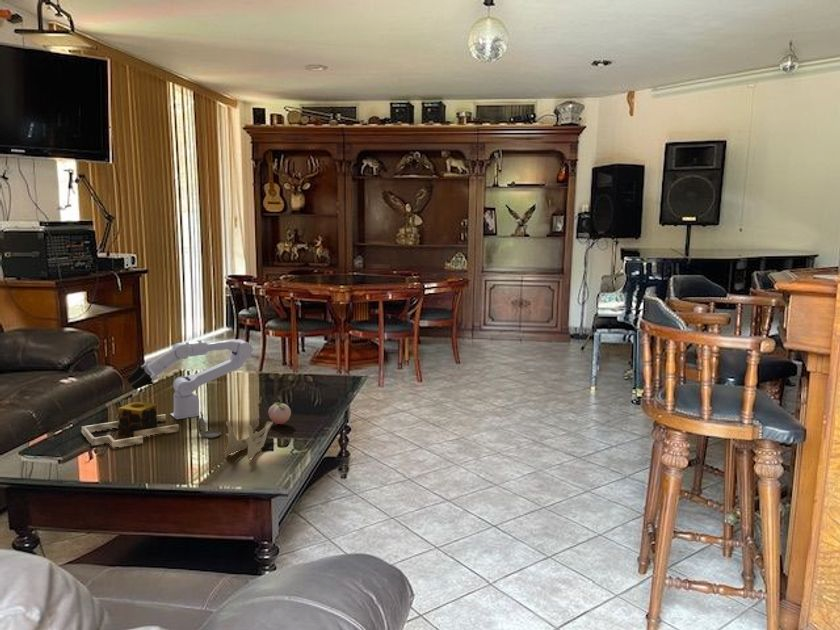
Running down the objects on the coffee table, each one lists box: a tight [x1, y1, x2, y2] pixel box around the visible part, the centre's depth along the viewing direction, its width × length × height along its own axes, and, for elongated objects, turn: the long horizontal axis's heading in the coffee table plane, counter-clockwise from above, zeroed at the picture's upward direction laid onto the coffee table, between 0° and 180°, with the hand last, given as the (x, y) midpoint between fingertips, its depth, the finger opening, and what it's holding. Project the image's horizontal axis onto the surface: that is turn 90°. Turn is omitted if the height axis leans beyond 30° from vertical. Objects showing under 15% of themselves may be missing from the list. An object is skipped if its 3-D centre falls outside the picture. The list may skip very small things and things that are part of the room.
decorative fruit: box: [267, 401, 292, 425], centre depth 246 cm, size 9×8×10 cm
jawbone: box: [224, 420, 274, 460], centre depth 219 cm, size 25×10×14 cm, turn 166°
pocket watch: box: [197, 411, 221, 439], centre depth 229 cm, size 8×8×10 cm
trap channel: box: [81, 413, 180, 449], centre depth 229 cm, size 30×29×2 cm
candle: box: [117, 401, 158, 436], centre depth 230 cm, size 10×10×10 cm
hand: (130, 384), depth 238 cm, fingers open, 7 cm apart
